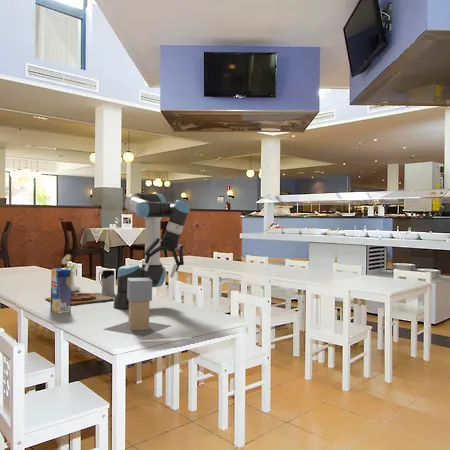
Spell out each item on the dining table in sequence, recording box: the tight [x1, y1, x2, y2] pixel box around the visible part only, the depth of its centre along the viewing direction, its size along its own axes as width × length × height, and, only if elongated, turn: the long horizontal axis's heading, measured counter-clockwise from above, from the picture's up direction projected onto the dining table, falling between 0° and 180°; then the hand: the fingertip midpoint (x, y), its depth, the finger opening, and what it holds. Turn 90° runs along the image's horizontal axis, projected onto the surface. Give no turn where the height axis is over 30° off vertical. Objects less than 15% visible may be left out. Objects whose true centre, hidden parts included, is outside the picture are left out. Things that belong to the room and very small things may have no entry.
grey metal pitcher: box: [98, 269, 116, 296], centre depth 286 cm, size 9×14×15 cm, turn 53°
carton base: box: [127, 301, 150, 330], centre depth 198 cm, size 8×8×18 cm
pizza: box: [45, 292, 116, 306], centre depth 261 cm, size 35×28×4 cm
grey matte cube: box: [127, 278, 153, 302], centre depth 198 cm, size 10×10×9 cm
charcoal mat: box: [102, 321, 172, 337], centre depth 198 cm, size 22×22×1 cm
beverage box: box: [49, 267, 73, 314], centre depth 230 cm, size 7×11×22 cm, turn 40°
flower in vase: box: [61, 254, 81, 293], centre depth 289 cm, size 13×11×25 cm
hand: (158, 273), depth 209 cm, fingers open, 13 cm apart
